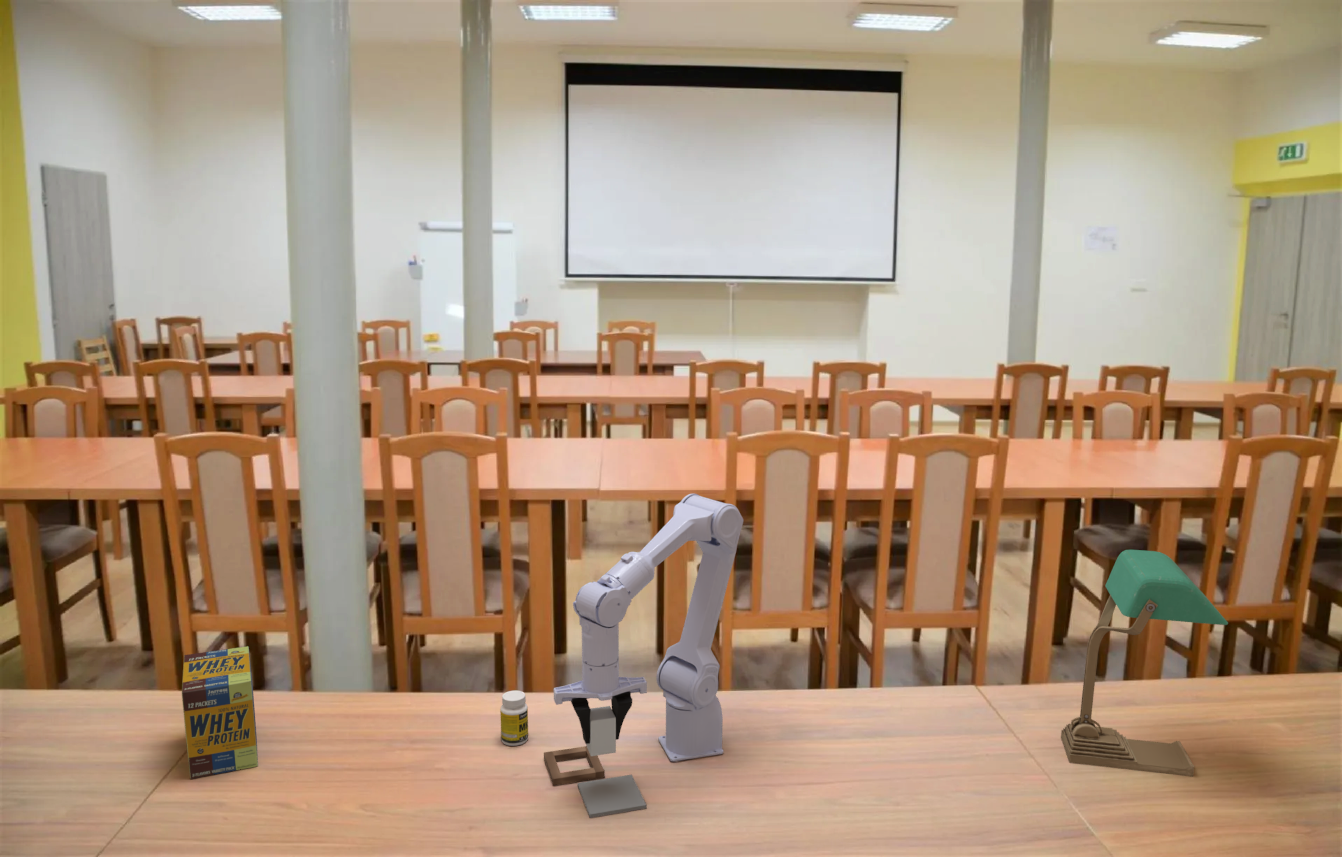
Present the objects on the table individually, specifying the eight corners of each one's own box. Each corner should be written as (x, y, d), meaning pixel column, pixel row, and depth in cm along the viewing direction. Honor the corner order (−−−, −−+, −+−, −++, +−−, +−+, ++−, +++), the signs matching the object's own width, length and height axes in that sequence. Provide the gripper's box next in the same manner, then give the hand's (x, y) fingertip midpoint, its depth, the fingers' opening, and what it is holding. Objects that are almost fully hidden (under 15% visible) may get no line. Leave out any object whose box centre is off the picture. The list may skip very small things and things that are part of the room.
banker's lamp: (1057, 727, 181) (1075, 543, 174) (1181, 740, 177) (1205, 552, 170) (1073, 774, 166) (1093, 574, 159) (1209, 789, 162) (1236, 584, 154)
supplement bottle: (522, 748, 172) (521, 703, 171) (497, 745, 173) (495, 700, 171) (532, 734, 177) (531, 690, 175) (506, 731, 178) (505, 687, 176)
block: (610, 740, 161) (609, 705, 160) (615, 752, 157) (615, 717, 156) (585, 743, 160) (585, 709, 159) (590, 756, 156) (590, 721, 155)
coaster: (631, 777, 163) (631, 774, 163) (646, 808, 155) (646, 804, 155) (577, 786, 161) (577, 783, 161) (589, 818, 152) (589, 814, 152)
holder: (593, 751, 171) (593, 745, 171) (604, 777, 163) (604, 771, 163) (543, 758, 169) (543, 752, 169) (553, 785, 161) (553, 779, 161)
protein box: (189, 780, 162) (180, 692, 158) (191, 736, 175) (183, 653, 172) (259, 767, 166) (252, 680, 163) (255, 724, 180) (249, 643, 176)
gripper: (558, 675, 150) (560, 757, 152) (652, 664, 154) (651, 744, 157) (550, 655, 156) (552, 735, 159) (640, 645, 160) (640, 723, 163)
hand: (600, 738), depth 158 cm, fingers closed on block, 4 cm apart
